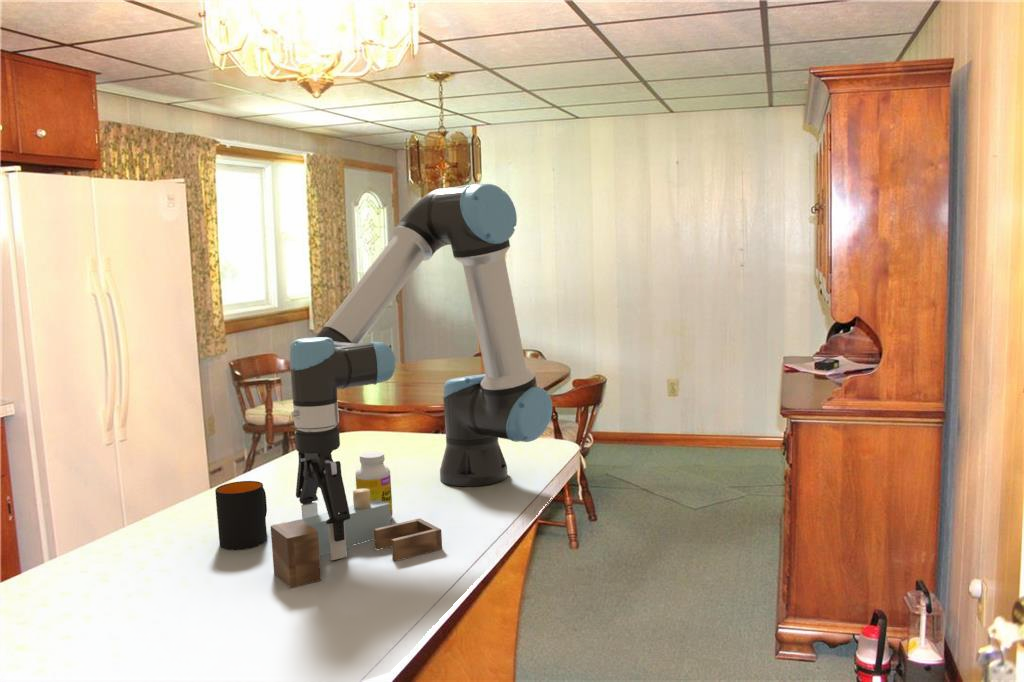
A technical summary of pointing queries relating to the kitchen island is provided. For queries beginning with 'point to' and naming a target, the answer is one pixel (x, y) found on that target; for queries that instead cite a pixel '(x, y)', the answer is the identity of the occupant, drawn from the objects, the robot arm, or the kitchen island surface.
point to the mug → (241, 515)
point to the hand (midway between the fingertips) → (324, 548)
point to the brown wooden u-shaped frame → (409, 538)
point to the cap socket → (295, 553)
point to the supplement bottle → (375, 477)
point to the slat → (354, 521)
